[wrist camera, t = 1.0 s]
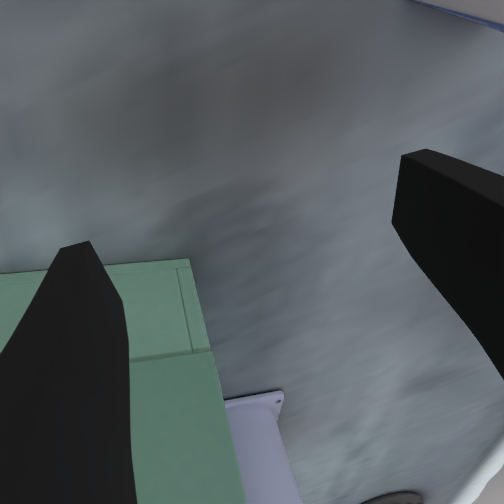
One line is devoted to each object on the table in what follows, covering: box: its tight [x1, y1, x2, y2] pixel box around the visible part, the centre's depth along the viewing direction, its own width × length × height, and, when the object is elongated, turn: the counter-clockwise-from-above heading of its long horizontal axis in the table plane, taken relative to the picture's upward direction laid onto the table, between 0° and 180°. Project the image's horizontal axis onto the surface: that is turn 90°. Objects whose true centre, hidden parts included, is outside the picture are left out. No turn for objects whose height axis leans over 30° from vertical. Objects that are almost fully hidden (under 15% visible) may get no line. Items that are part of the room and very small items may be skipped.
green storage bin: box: [0, 258, 210, 363], centre depth 22 cm, size 12×14×6 cm
